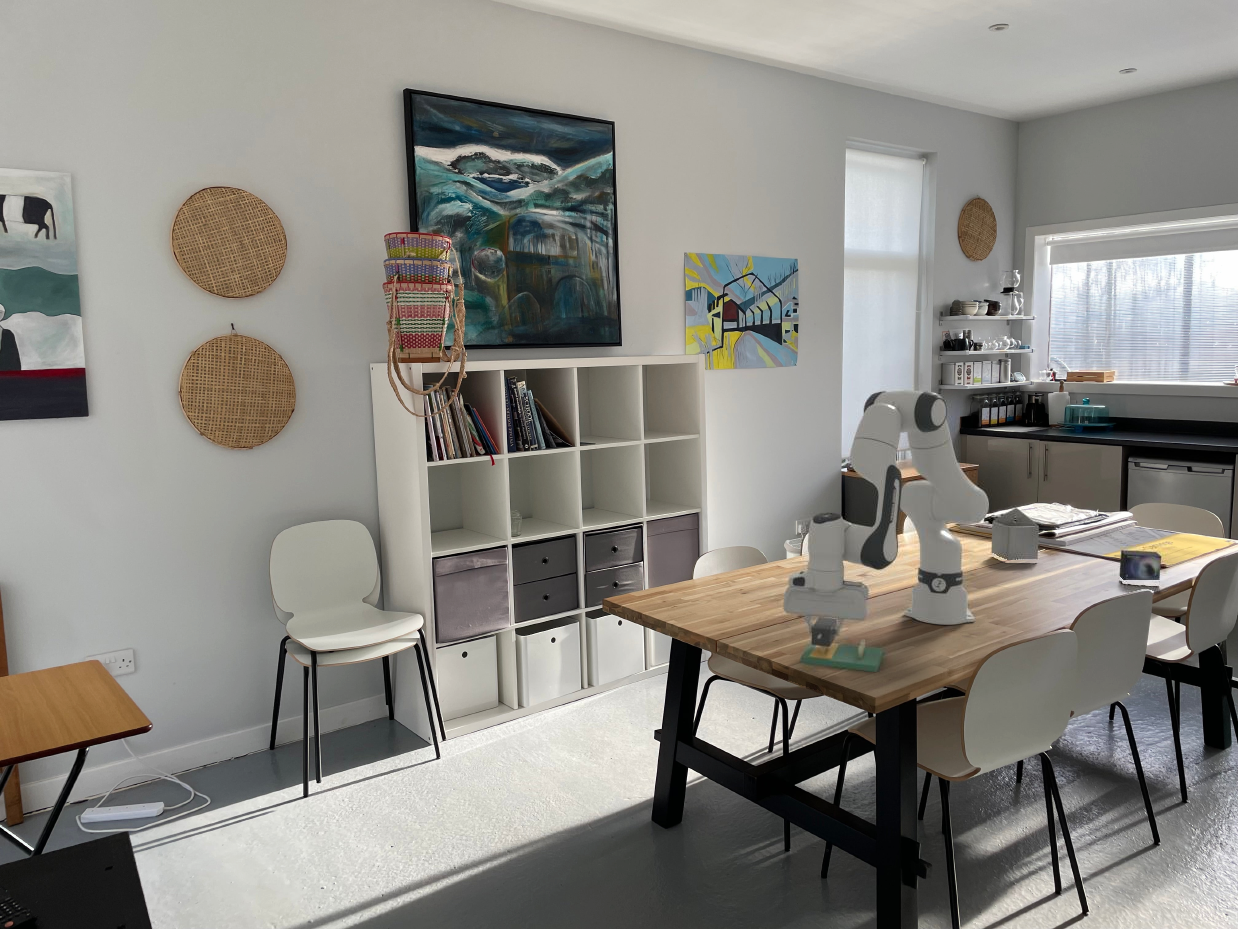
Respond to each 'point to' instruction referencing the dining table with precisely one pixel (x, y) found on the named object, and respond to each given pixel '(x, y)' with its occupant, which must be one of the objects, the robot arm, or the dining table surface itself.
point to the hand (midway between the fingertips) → (824, 633)
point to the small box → (1140, 565)
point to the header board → (844, 656)
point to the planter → (1015, 536)
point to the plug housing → (823, 631)
